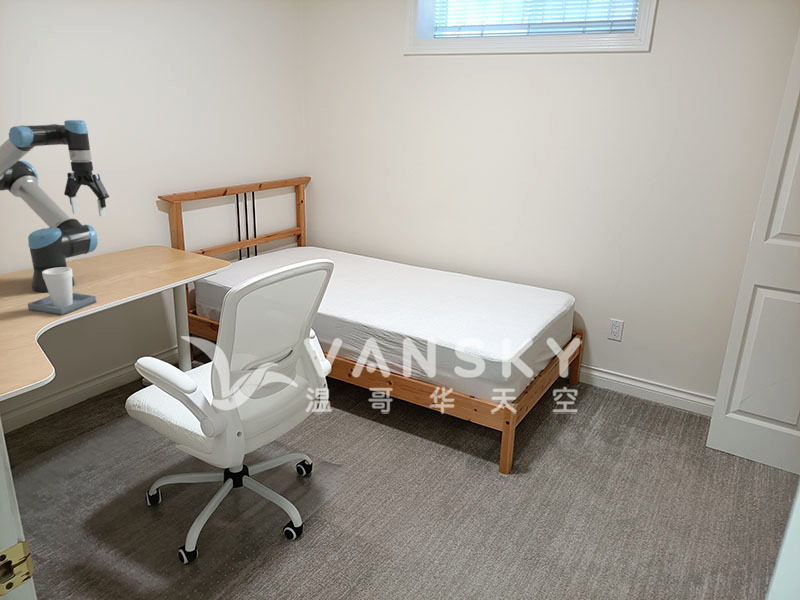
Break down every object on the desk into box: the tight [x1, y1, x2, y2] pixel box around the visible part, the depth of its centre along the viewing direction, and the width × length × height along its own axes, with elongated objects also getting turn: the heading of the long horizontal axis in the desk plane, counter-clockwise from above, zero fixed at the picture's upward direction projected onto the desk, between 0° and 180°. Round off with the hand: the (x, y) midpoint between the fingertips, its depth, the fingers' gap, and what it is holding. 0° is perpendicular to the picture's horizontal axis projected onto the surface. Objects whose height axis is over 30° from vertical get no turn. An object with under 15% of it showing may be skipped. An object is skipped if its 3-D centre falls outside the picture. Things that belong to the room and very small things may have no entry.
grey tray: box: [27, 292, 97, 317], centre depth 217 cm, size 16×16×3 cm
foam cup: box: [42, 266, 74, 307], centre depth 215 cm, size 10×9×13 cm
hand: (89, 214), depth 237 cm, fingers open, 13 cm apart
